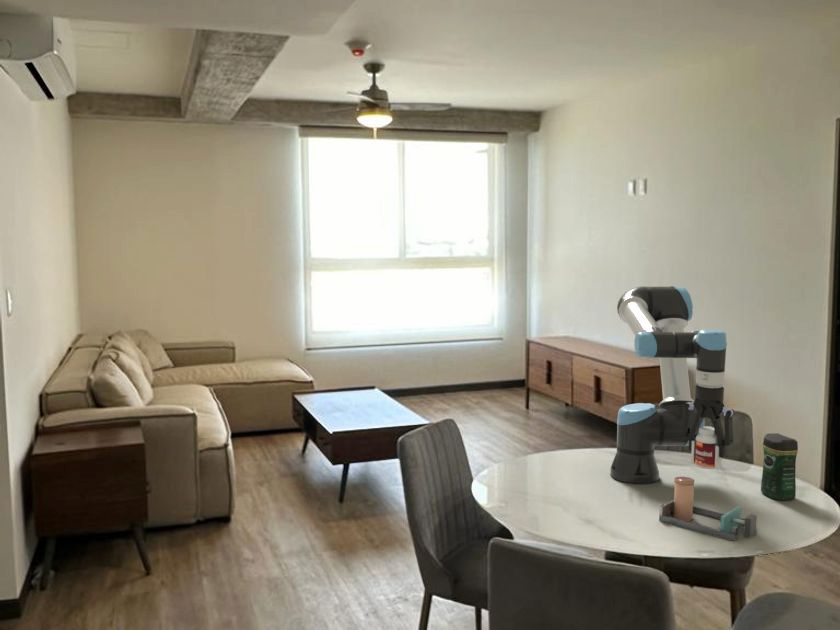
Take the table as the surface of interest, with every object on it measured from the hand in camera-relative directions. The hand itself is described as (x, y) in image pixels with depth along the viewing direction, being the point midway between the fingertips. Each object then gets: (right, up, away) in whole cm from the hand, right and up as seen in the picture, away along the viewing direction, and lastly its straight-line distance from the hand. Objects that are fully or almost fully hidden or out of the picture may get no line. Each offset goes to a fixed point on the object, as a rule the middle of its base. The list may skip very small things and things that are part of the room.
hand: (705, 464), depth 221 cm
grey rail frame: (-4, -14, -11) cm, 18 cm away
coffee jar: (+26, -12, +12) cm, 31 cm away
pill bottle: (0, -1, 0) cm, 1 cm away
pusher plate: (+3, -14, -17) cm, 23 cm away
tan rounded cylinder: (-9, -13, -6) cm, 17 cm away
